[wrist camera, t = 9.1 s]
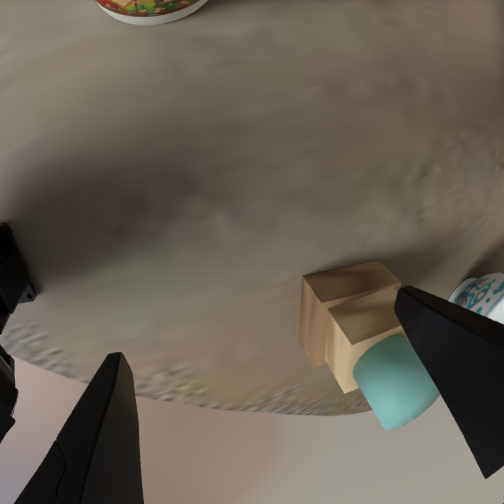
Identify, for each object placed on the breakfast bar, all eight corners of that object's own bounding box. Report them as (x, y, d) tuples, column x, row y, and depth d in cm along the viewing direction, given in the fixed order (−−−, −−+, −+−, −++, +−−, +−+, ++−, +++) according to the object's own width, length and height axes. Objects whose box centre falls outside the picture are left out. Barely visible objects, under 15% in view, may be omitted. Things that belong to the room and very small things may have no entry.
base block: (297, 338, 29) (312, 368, 26) (301, 273, 26) (321, 303, 22) (364, 320, 31) (383, 345, 27) (376, 258, 27) (402, 282, 24)
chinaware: (501, 230, 31) (543, 260, 24) (486, 308, 39) (516, 337, 32) (422, 283, 30) (467, 327, 24) (417, 358, 38) (446, 396, 32)
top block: (325, 359, 26) (344, 393, 22) (326, 308, 23) (351, 345, 19) (382, 337, 27) (405, 366, 23) (392, 286, 24) (421, 316, 20)
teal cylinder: (347, 389, 22) (375, 438, 18) (359, 346, 20) (396, 401, 15) (398, 369, 23) (428, 412, 19) (414, 326, 21) (453, 372, 16)
